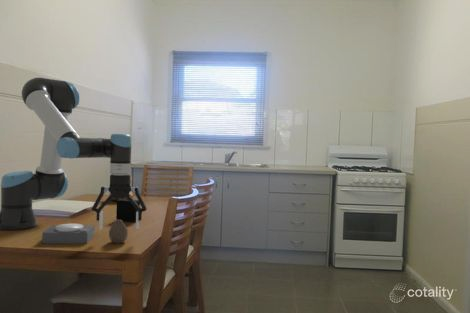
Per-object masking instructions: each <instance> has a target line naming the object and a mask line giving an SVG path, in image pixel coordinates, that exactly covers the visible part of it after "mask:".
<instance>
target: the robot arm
mask: <svg viewBox="0 0 470 313" xmlns="http://www.w3.org/2000/svg"><path fill="white" fill-rule="evenodd" d="M21 99H22V101H23V102H24V104H25V106H26V107H27V108H28V109H29V110H31V111H33V112H34V113H35V115H36V116H37V117H38V118H39V119H40V120H39V121H41V122H42V124H43V126H44V130H43V131H44V132H43V140H42V146H41V154H40V155H41V157H40V163H39V165H38V166H37V167H36V168H35V171H34V173H33V171H31V170H21V171H13V172H8V173H5V174H3V175H2V177H1V184H0V188H1V189H0V230H2V231H19V230H27V229H30V228H34V227H36V226H37V217H36V215H35V213H34V209H33V201H38V200H46V199H47V200H48V199H49V200H51V199H56V198H60V197H62V196H63V195H64V194H65V193H66V191H67V189H68V185H69V179H68V176H67V174H66V173H65V171H64V169H63V168H62V161H63V159H69V160H70V159H87V158H89V159H91V158H92V159H93V158H95V159H97V158H100V159H101V158H105V159H106V158H107V159H108V158H109V159H110V161H109V164H110V165H109V171H110V172H109V173H110V175H109V186H104V185H103V186H101V187H100V193H99V194H98V196H97V198H96V199H95V202H94V203H93V204H92V205H93V206H92V207H91V211H92V212H95V213H96V221H97V222H98V221H99V222H98V223H99V224H98V230H100V231H101V230H102V229H103V227H104V224H103V223H104V221H103V220H104V211H102V210H103V209H104V208H105V207H106V206H107V204H108V203H110V201H112V198H113V197H114V198H115V199H118V198H121V199H124V198H127V199H128V200H129V201H130V203H131V204H132V205H133V206H134V207H135V209H136V210H137V211H138V212H137V213H136V222H135V230H136V231H138V230H139V227H140V226H139V225H140V224H139V223H140V222H141V221H142V217H143V216H142V215H143V212H146V210H147V208H148V207H147V206H146V204H145V202H144V200H143V197H142V196H141V193H140V191H139V190H140V188H139V186H134V187H131V184H130V178H131V175H130V174H131V166H132V165H131V161H132V160H131V159H132V136H131V135H130V134H125V133H124V134H123V133H112V134H110V138H103V137H100V138H99V137H97V138H92V137H81V136H80V135H79V134H78V133H77V132H76V130H75V129H74V127H73V126H72V125H71V124H70V123H69V121H68V117H69V116H70V115H72V113H73V110H75V109H76V108H77V107H78V105H79V103H80V92H79V89H78V88H77V86H76V85H75V84H74V83H72V82H70V81H69V82H68V81H66V80H60V79H52V78H51V79H50V78H45V77H33V78H31V79H29V80H27V81H26V82H25V83H24V85H23V86H22V89H21ZM130 191H131V192H132V193H133V194H135V197H136V199H137V200H138V201H139V203H140V207H139V205H138V204H137V203H136V202H135V201H134V200H135V199H134V198H132V197H131V196H130V194H129V193H130ZM107 192H109V194H110V193H111V195H110V196H108V197H107V198H106V199H105V200H104V201H103V203H102V204H101V205H100V206H99V204H100V202H101V200H102V199H103V197H104V195H105V193H107ZM98 206H99V207H98Z"/></svg>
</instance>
